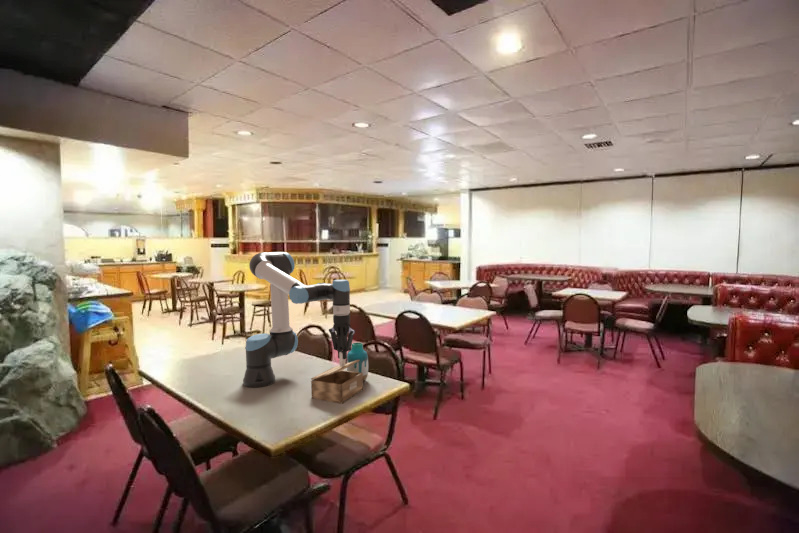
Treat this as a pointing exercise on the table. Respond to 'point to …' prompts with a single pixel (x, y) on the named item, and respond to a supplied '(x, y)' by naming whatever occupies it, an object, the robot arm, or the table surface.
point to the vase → (358, 354)
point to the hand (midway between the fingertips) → (342, 365)
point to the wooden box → (337, 386)
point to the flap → (335, 369)
